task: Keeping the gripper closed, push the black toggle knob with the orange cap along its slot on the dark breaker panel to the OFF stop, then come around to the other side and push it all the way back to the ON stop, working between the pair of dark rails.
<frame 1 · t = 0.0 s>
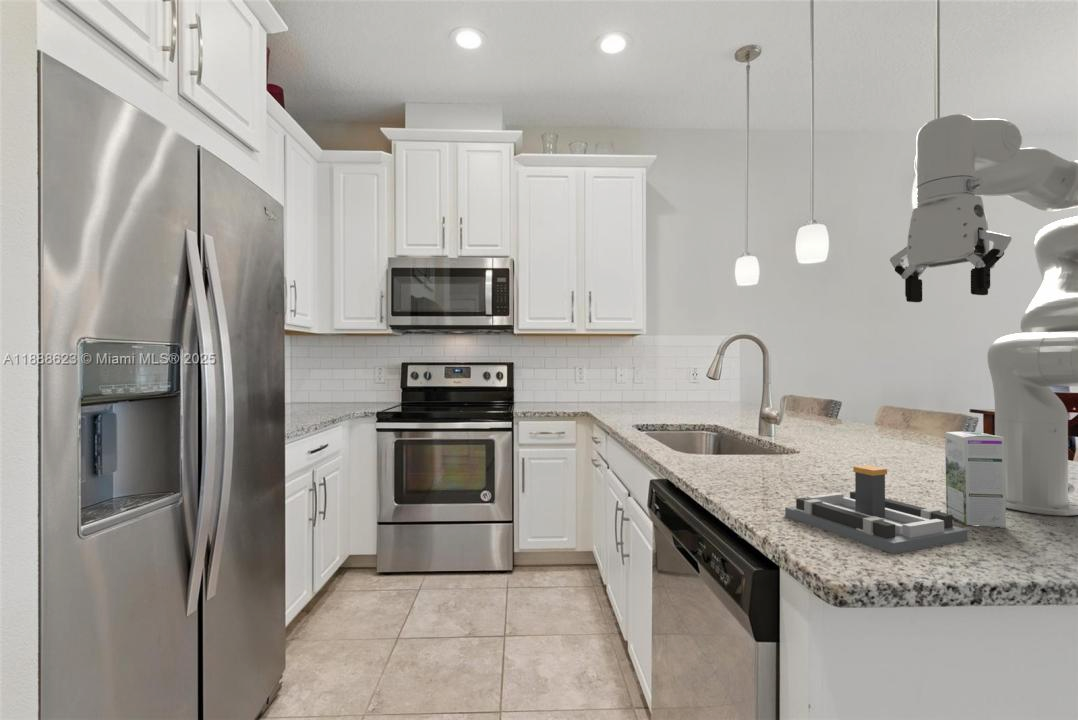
hand: (945, 298, 83), 37 cm above the countertop, tool pointing down, fingers open, 9 cm apart
pair of dark rails: (870, 511, 79), in the breaker panel, point 2 cm above the countertop
syrup box: (974, 523, 82), on the countertop
toggle knob: (870, 491, 79), point 6 cm above the countertop, slide at 0.0 cm
breaker panel: (870, 527, 79), on the countertop
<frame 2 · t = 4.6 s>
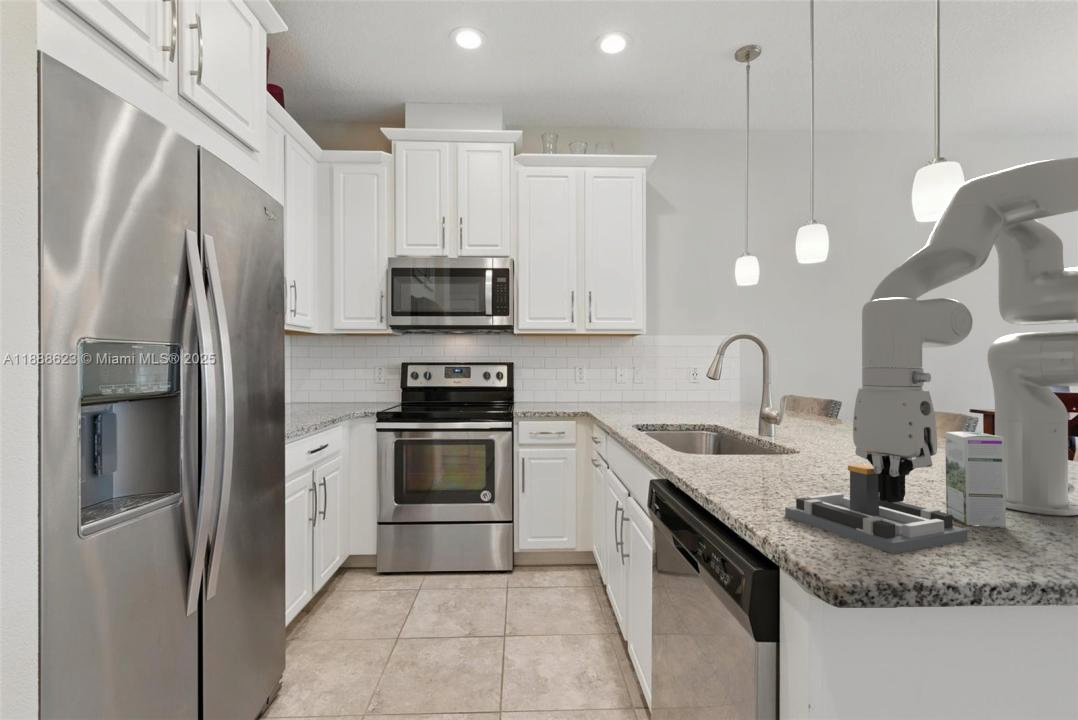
hand: (891, 500, 76), 5 cm above the countertop, tool pointing down, fingers closed
toggle knob: (864, 490, 80), point 6 cm above the countertop, slide at -1.0 cm, touching gripper
everything else where it was.
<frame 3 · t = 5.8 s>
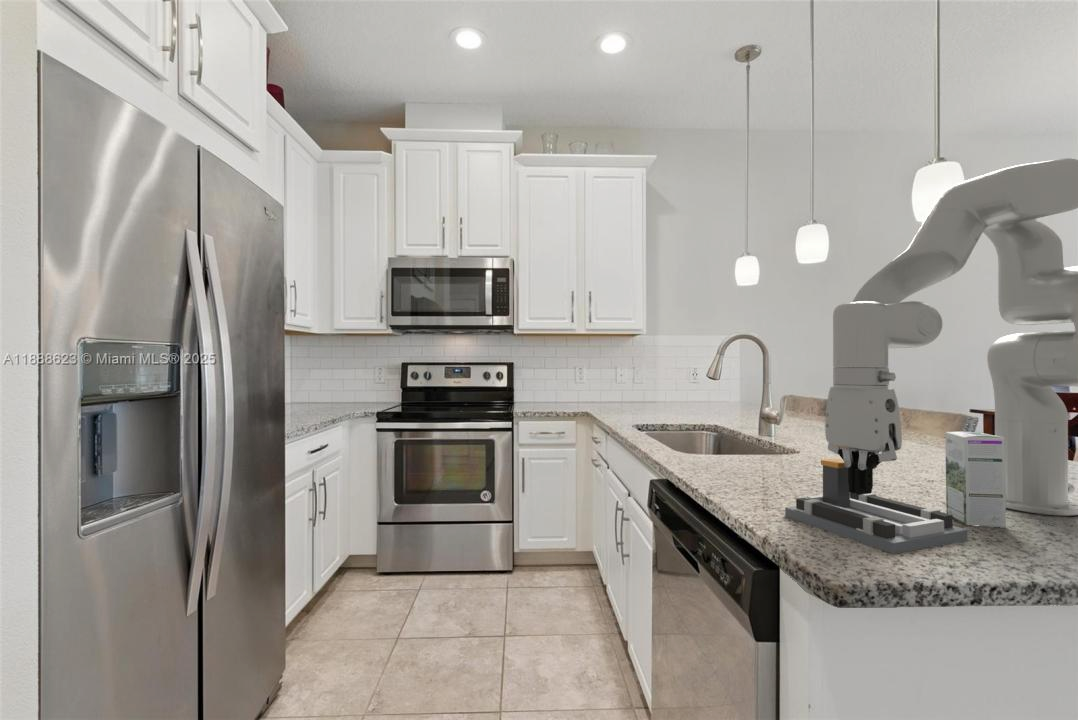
hand: (860, 492, 81), 5 cm above the countertop, tool pointing down, fingers closed
toggle knob: (836, 483, 85), point 6 cm above the countertop, slide at -5.9 cm, touching gripper
everything else where it was.
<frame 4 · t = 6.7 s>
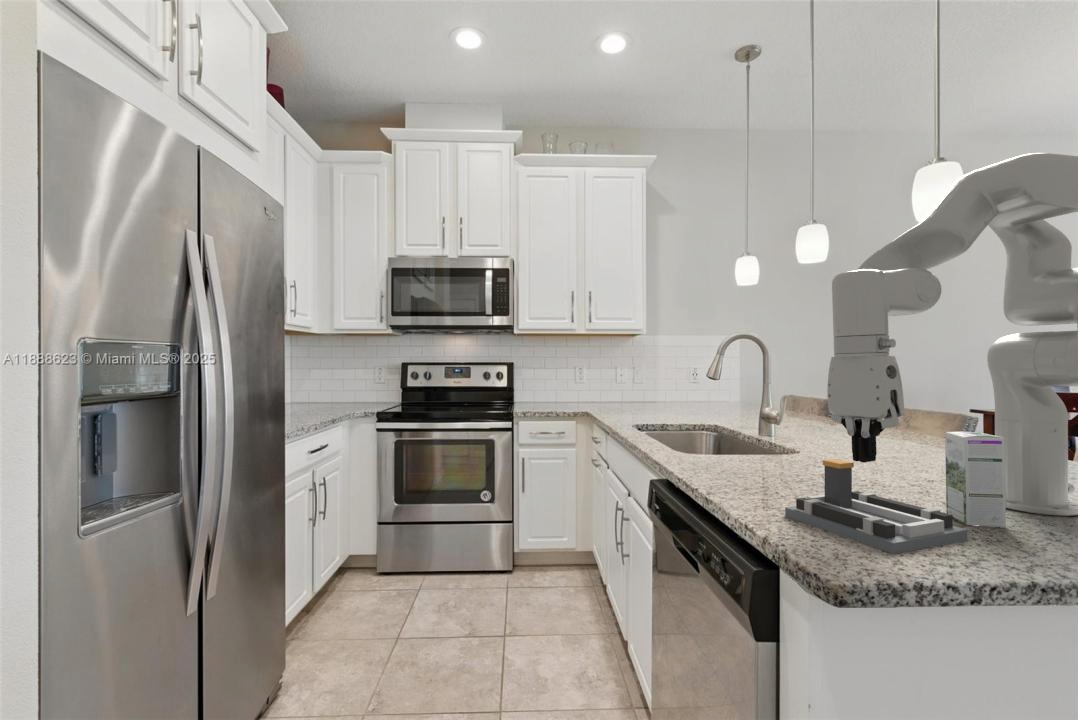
hand: (864, 460, 81), 10 cm above the countertop, tool pointing down, fingers closed
toggle knob: (838, 483, 85), point 6 cm above the countertop, slide at -5.5 cm
everything else where it was.
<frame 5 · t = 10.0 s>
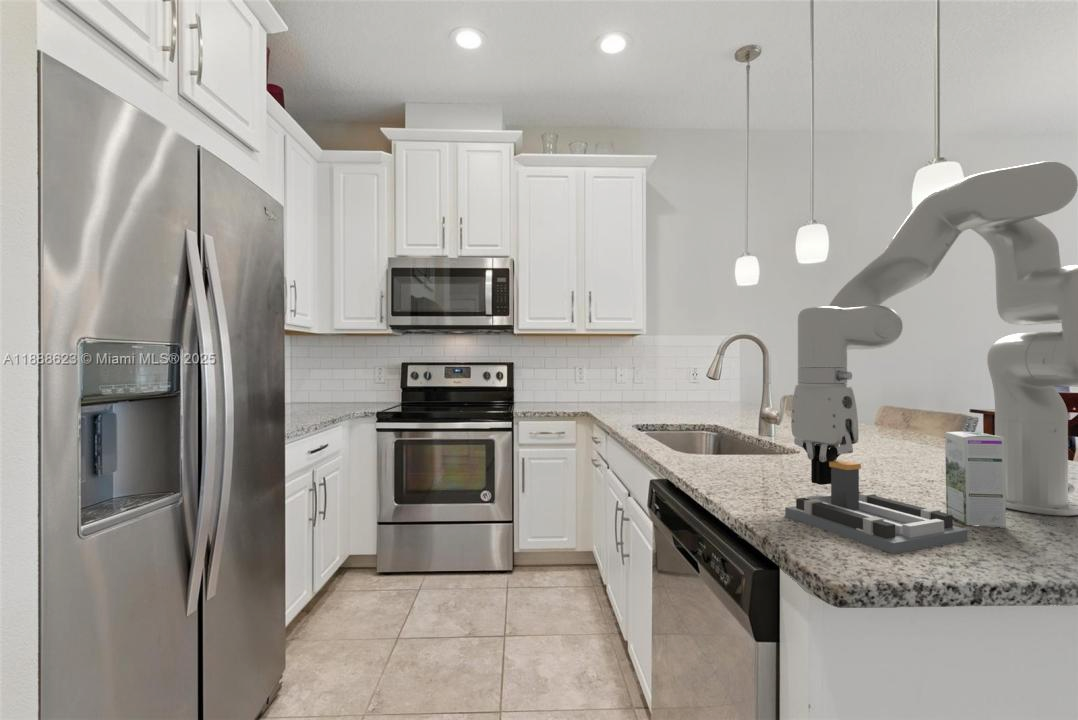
hand: (822, 483, 87), 5 cm above the countertop, tool pointing down, fingers closed
toggle knob: (844, 485, 83), point 6 cm above the countertop, slide at -4.3 cm, touching gripper
everything else where it was.
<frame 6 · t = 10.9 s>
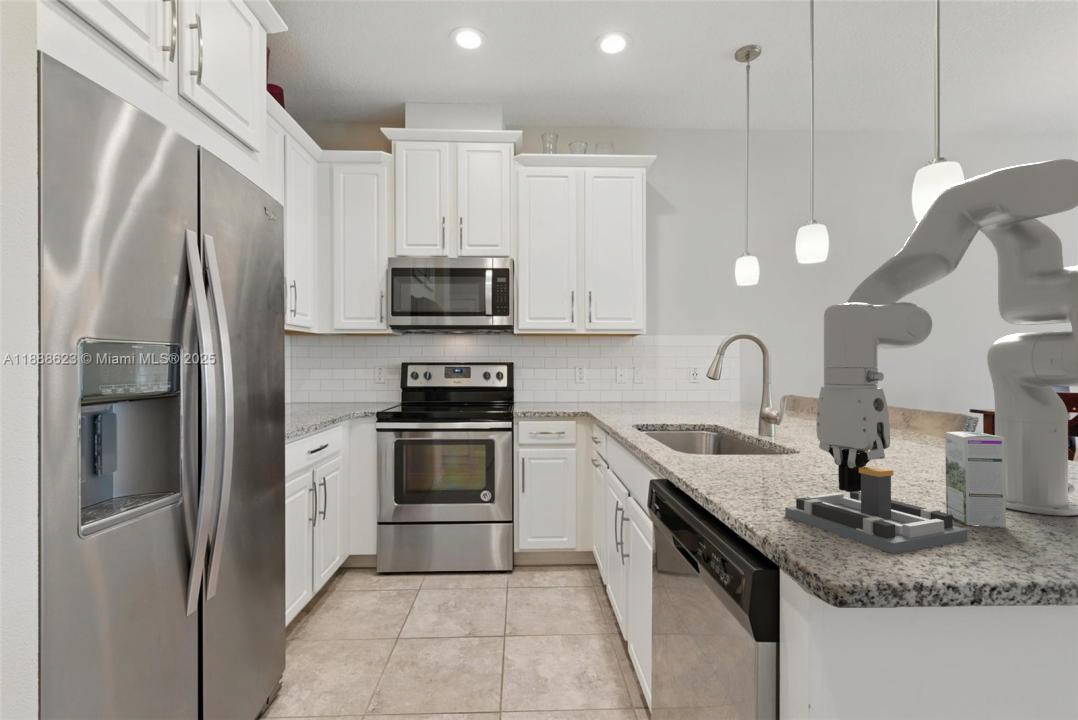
hand: (850, 490, 83), 5 cm above the countertop, tool pointing down, fingers closed
toggle knob: (875, 493, 78), point 6 cm above the countertop, slide at 0.9 cm, touching gripper
everything else where it was.
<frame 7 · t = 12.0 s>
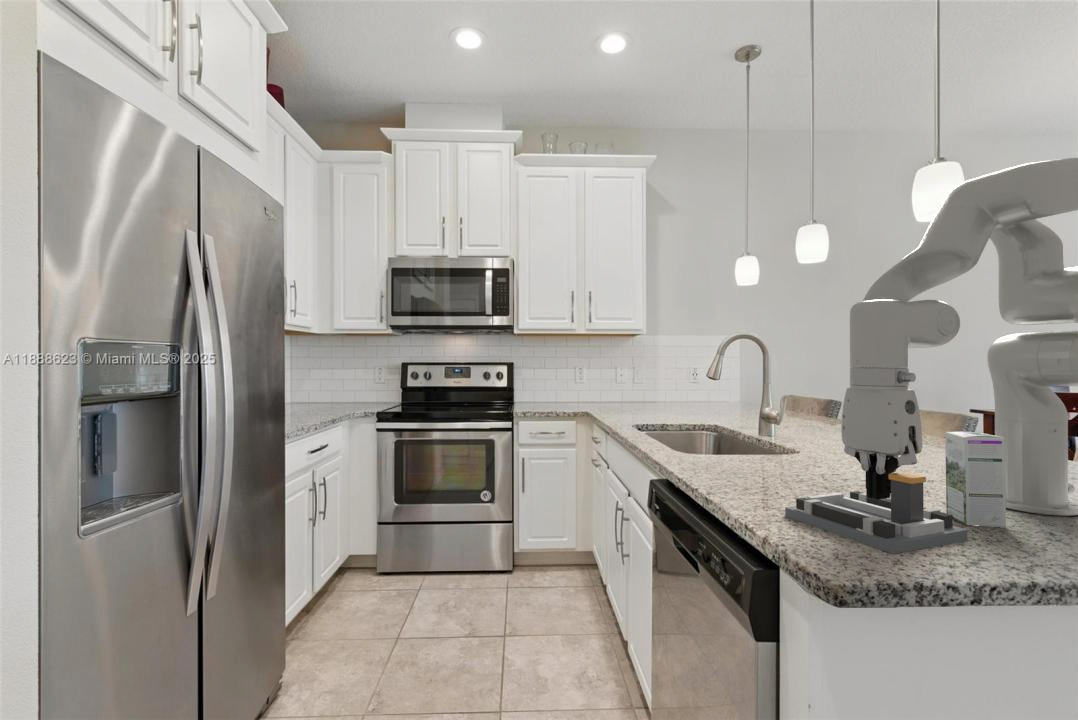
hand: (878, 497, 78), 5 cm above the countertop, tool pointing down, fingers closed
toggle knob: (907, 500, 74), point 6 cm above the countertop, slide at 5.6 cm, touching gripper
everything else where it was.
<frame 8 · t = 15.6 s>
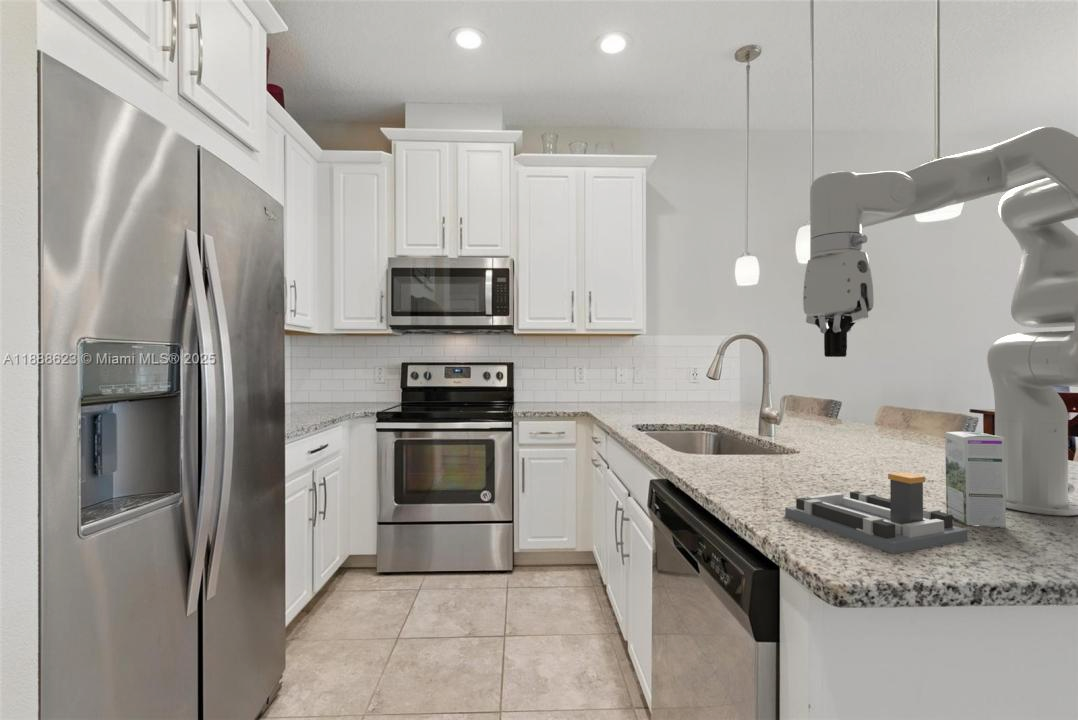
hand: (835, 356, 85), 27 cm above the countertop, tool pointing down, fingers closed
toggle knob: (906, 500, 74), point 6 cm above the countertop, slide at 5.5 cm
everything else where it was.
at the end: toggle knob slide at 5.5 cm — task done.
